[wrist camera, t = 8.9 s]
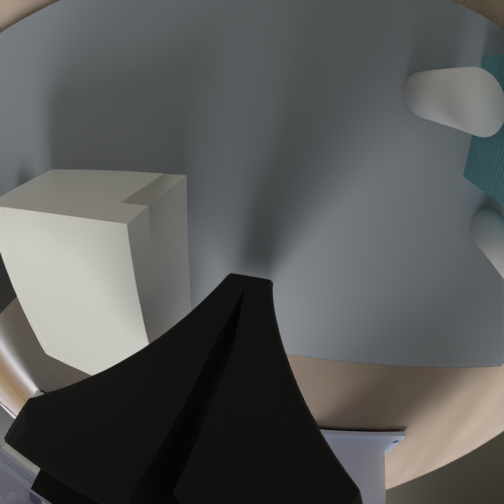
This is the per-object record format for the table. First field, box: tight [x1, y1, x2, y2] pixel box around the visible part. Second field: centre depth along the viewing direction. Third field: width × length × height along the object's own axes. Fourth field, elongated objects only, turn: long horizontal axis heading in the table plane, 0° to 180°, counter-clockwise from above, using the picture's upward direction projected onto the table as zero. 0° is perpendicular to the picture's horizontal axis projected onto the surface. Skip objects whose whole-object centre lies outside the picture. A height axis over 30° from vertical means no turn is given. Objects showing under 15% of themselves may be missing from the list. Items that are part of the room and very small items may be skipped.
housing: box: [0, 169, 192, 376], centre depth 9 cm, size 7×6×4 cm
